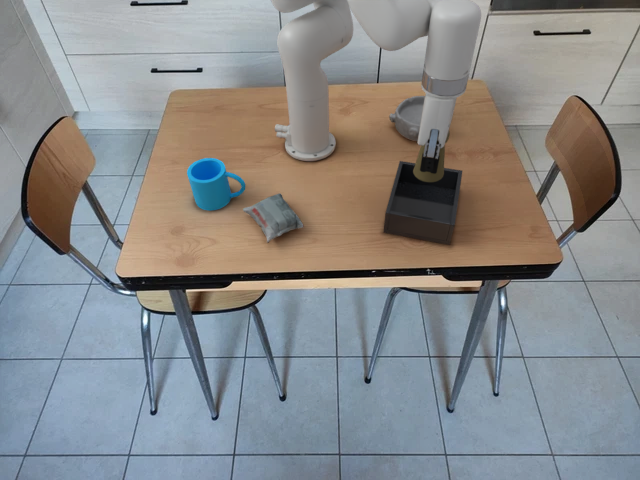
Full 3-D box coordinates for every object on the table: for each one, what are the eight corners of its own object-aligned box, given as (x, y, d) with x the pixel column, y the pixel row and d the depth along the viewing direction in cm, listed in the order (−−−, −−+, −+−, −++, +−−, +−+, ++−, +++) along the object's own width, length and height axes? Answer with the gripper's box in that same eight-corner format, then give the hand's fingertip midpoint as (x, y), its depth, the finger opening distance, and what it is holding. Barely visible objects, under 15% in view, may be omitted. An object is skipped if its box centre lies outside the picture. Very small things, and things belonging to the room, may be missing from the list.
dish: (430, 106, 132) (433, 90, 128) (457, 135, 123) (461, 118, 119) (381, 119, 128) (383, 102, 125) (406, 149, 120) (408, 132, 116)
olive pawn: (443, 183, 95) (453, 137, 87) (412, 180, 96) (418, 134, 88) (444, 164, 99) (453, 117, 91) (414, 160, 100) (420, 115, 92)
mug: (191, 210, 108) (182, 182, 102) (199, 185, 113) (191, 157, 107) (245, 211, 107) (239, 183, 101) (250, 186, 113) (245, 158, 106)
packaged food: (268, 250, 100) (266, 233, 96) (243, 215, 106) (240, 198, 103) (305, 233, 102) (304, 217, 99) (278, 200, 109) (277, 184, 106)
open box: (383, 232, 102) (385, 212, 97) (397, 181, 112) (399, 160, 108) (449, 245, 99) (454, 225, 95) (457, 191, 110) (462, 170, 105)
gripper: (429, 52, 88) (417, 136, 102) (414, 103, 78) (403, 188, 91) (471, 57, 87) (453, 141, 100) (462, 109, 76) (444, 195, 90)
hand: (430, 163), depth 96 cm, fingers closed on olive pawn, 4 cm apart
